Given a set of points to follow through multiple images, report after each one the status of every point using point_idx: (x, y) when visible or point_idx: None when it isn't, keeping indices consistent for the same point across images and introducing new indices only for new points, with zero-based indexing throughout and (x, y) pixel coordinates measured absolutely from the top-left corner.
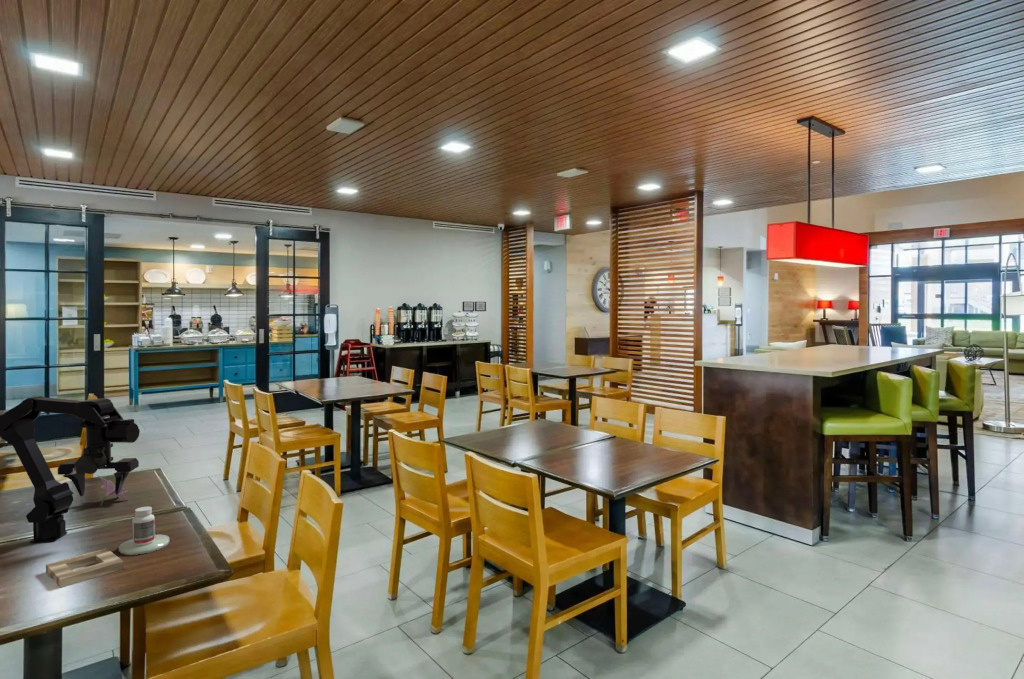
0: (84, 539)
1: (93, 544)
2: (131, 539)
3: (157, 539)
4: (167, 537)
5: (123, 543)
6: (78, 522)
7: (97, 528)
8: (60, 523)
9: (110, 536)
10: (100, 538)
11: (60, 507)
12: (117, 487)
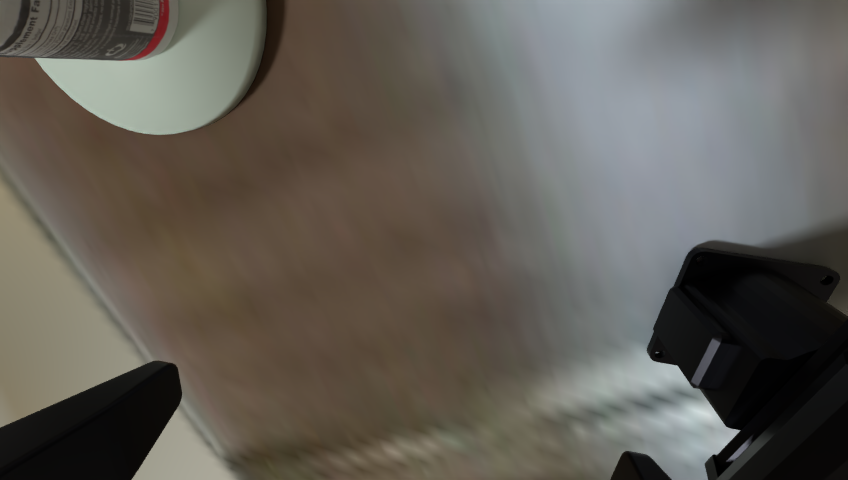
0: (531, 231)
1: (454, 128)
2: (232, 84)
3: None
4: None
5: (245, 15)
6: None
7: (512, 371)
8: (713, 337)
9: (405, 233)
10: (448, 219)
11: (807, 420)
12: (20, 433)
